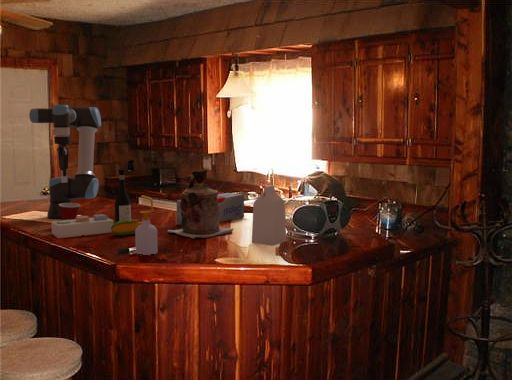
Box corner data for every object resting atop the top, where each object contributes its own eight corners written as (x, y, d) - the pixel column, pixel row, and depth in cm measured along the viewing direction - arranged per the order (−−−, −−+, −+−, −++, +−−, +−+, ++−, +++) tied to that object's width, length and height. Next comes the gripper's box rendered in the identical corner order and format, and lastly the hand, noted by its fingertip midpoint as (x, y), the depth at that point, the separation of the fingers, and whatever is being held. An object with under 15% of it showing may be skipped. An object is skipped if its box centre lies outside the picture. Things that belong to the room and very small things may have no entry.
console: (51, 233, 279) (51, 220, 278) (105, 227, 293) (105, 215, 292) (58, 238, 268) (57, 225, 267) (113, 232, 282) (113, 219, 281)
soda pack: (229, 215, 333) (229, 192, 331) (245, 218, 324) (245, 194, 322) (175, 224, 303) (175, 199, 301) (191, 228, 294) (191, 201, 293)
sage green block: (57, 230, 276) (57, 220, 276) (68, 229, 279) (67, 219, 278) (60, 232, 272) (59, 222, 271) (71, 231, 275) (70, 221, 274)
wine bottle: (134, 225, 299) (132, 169, 295) (121, 228, 293) (119, 170, 289) (125, 223, 304) (123, 168, 300) (112, 226, 298) (110, 169, 295)
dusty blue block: (94, 224, 286) (93, 215, 285) (104, 223, 288) (103, 214, 288) (97, 226, 281) (96, 216, 281) (107, 225, 284) (107, 215, 283)
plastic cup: (74, 228, 290) (73, 205, 289) (55, 228, 293) (54, 205, 291) (85, 225, 301) (84, 202, 299) (66, 224, 303) (65, 202, 302)
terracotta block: (76, 226, 281) (75, 216, 280) (86, 225, 284) (86, 215, 283) (78, 228, 277) (78, 218, 276) (89, 227, 279) (89, 217, 279)
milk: (273, 245, 253) (273, 188, 249) (251, 242, 259) (251, 186, 255) (286, 241, 263) (286, 185, 259) (265, 238, 269) (265, 183, 265)
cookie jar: (204, 226, 298) (203, 165, 294) (235, 233, 281) (235, 168, 277) (165, 233, 281) (164, 168, 277) (196, 240, 264) (195, 172, 260)
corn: (108, 219, 274) (145, 215, 286) (108, 235, 275) (145, 230, 287) (114, 223, 268) (152, 218, 280) (114, 238, 269) (152, 233, 281)
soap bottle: (137, 251, 243) (135, 194, 239) (158, 250, 243) (157, 194, 240) (134, 256, 234) (132, 197, 231) (156, 255, 234) (155, 196, 231)
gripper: (51, 135, 287) (53, 181, 291) (57, 136, 276) (60, 184, 280) (66, 134, 291) (68, 180, 295) (73, 136, 280) (75, 183, 284)
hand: (64, 182), depth 287 cm, fingers closed
